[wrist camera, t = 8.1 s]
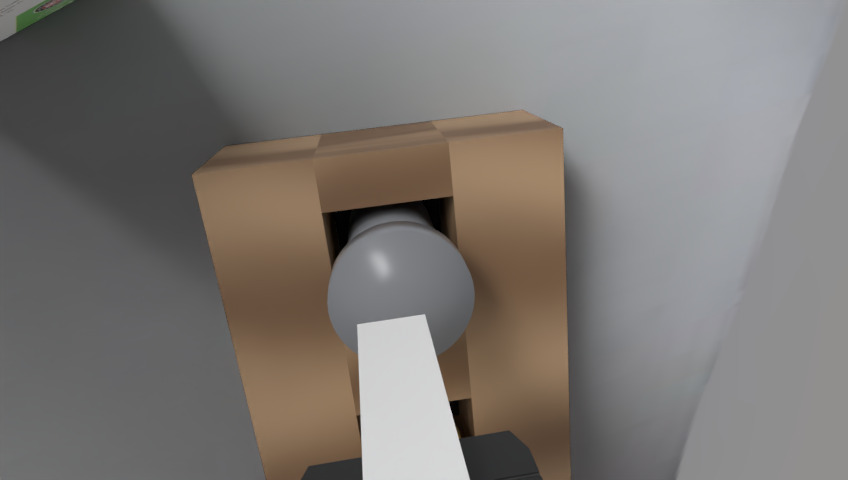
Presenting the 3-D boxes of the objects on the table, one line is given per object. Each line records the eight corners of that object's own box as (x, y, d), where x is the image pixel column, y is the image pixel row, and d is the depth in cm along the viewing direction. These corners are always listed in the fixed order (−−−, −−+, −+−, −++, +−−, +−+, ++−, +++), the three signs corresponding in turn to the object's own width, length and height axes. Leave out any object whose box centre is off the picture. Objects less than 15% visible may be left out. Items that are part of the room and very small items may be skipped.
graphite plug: (327, 183, 23) (315, 242, 17) (437, 169, 23) (468, 221, 17) (344, 284, 25) (339, 375, 18) (447, 270, 25) (479, 354, 18)
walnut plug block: (225, 145, 23) (191, 174, 18) (522, 109, 24) (563, 128, 19) (323, 591, 31) (317, 689, 27) (542, 553, 32) (574, 641, 27)
